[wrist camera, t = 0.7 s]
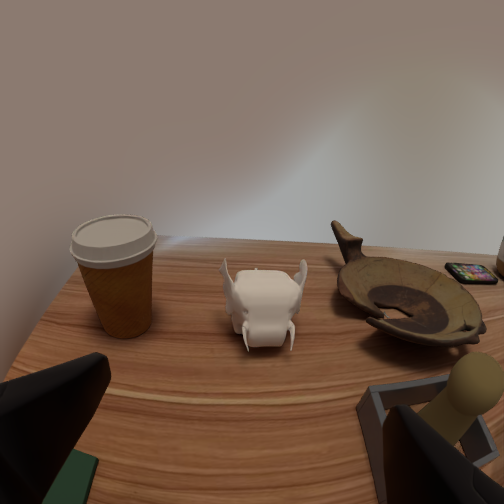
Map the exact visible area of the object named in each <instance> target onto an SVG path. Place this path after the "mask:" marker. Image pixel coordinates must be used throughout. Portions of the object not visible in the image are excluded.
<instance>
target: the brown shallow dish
mask: <svg viewBox="0 0 504 504" xmlns="http://www.w3.org/2000/svg"><path fill="white" fill-rule="evenodd" d="M331 227H332V230H333V232H334V235H335V237H336V239H337V242H338V244H339V247H340V250H341V252H342V255H343V258H344V261H345V263H346V265H344V266H343V267H342V268H341V269H340V271H339V274H338V278H337V285H338V289H339V291H340V293H341V295H342V296H343V297H345V298H346V299H347V300H348V301H350V302H351V303H353V304H354V305H356V306H357V307H359V308H360V309H362V310H364V312H367V313H370V314H371V315H373V316H376V317H378V318H383V320H377V319H375V318H372V317H368V318H367V319H366V322H367V323H368V324H370V325H371V326H373V327H375V328H377V329H379V330H381V331H383V332H385V333H387V334H390V335H392V336H395V337H397V338H400V339H403V340H406V341H409V342H413V343H417V344H422V345H429V346H440V347H453V346H459V345H462V344H478V343H479V342H480V340H479V336H478V335H479V334H484V333H485V332H486V326H485V324H484V322H483V321H482V313H481V310H480V308H479V305H478V304H477V302H476V300H475V299H474V298H473V297H472V295H471V294H470V293H469V292H468V291H467V290H466V289H464V288H463V286H462V285H461V284H459V283H458V282H457V281H455V280H454V279H451V278H448V277H447V276H446V275H444V274H442V273H441V272H438V271H436V270H433V269H431V268H428V267H426V266H423V265H420V264H416V263H412V262H408V261H403V260H398V259H393V258H386V257H366V256H365V255H363V253H362V252H361V245H362V241H363V239H362V238H359V237H355V236H353V235H351V234H349V233H348V232H347V231H346V230H345V229H344V227H342V226H341V224H340V223H339V222H337V221H332V222H331ZM377 306H378V307H389V308H390V307H393V308H397V309H400V310H401V311H403V312H405V313H407V314H408V315H411V316H412V317H410V318H402V319H384V314H385V311H384V314H383V312H382V311H380V309H379V308H378V307H377ZM385 315H386V314H385ZM386 316H387V315H386ZM387 317H388V316H387ZM389 318H390V317H389ZM464 330H466V331H469V332H461V331H464Z"/></svg>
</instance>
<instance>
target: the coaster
mask: <svg viewBox="0 0 504 504" xmlns="http://www.w3.org/2000/svg"><path fill="white" fill-rule="evenodd" d="M97 463H98V458H97V457H94V456H92V455H89V454H86V453H83V452H81V451H78V450H75V449H73V450H72V451H71V453H70V455H69V457H68V458H67V460H66V462H65V463H64V465H63V467H62V468H61V470H60V472H59V474H58V475H57V477H56V479H55V481H54V482H53V484H52V486H51V488H50V489H49V491H48V493H47V495H46V497H45V498H44V499H43V500H44V501H43V503H42V504H86V502H87V498H88V494H89V491H90V487H91V484H92V480H93V477H94V473H95V470H96V467H97Z"/></svg>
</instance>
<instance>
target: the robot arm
mask: <svg viewBox="0 0 504 504" xmlns="http://www.w3.org/2000/svg"><path fill="white" fill-rule="evenodd" d="M110 380H111V371H110V366H109V362H108V358H107V356H105V355H103V354H100V353H97V352H95V353H92V354H89V355H86V356H83V357H80V358H77V359H74V360H71V361H68V362H65V363H62V364H59V365H56V366H53V367H50V368H47V369H44V370H41V371H38V372H35V373H32V374H29V375H25V376H22V377H19V378H16V379H13V380H9V382H8V381H6V382H2V383H0V504H42V503H43V501H44V500H43V499H44V498H45V497H46V495H47V493H48V491H49V489H50V488H51V486H52V484H53V482H54V481H55V479H56V477H57V475H58V474H59V472H60V470H61V468H62V467H63V465H64V463H65V462H66V460H67V458H68V457H69V455H70V453H71V451H72V450H73V448H74V446H75V445H76V443H77V442H78V440H79V438H80V437H81V435H82V433H83V432H84V430H85V429H86V427H87V425H88V424H89V422H90V420H91V419H92V417H93V415H94V414H95V412H96V410H97V408H98V405H99V403H100V401H101V399H102V397H103V395H104V393H105V391H106V389H107V387H108V385H109V383H110ZM382 432H383V468H384V478H385V487H386V497H387V504H504V488H503V487H502V486H500V485H499V484H498V483H496V482H495V481H493V480H492V479H491V478H490V477H488V476H487V475H486V474H485V473H483V472H482V471H481V470H480V469H479V468H478V467H477V466H474V464H473V463H472V462H471V461H470V460H468V459H467V458H466V457H465V456H464V455H463V454H462V453H461V452H459V451H458V450H457V449H456V448H455V447H454V446H453V445H451V444H450V443H449V442H448V441H447V440H446V439H445V438H444V437H442V436H441V435H440V434H439V433H438V432H437V431H436V430H435V429H433V428H432V427H431V426H430V425H429V424H428V423H427V422H426V421H425V420H423V419H422V418H421V417H420V416H419V415H418V414H417V413H416V412H414V411H413V410H412V409H411V408H410V407H409V406H408V405H406V404H396V405H394V406H393V407H392V408H391V410H390V412H389V413H388V415H387V417H386V418H385V420H384V422H383V426H382Z"/></svg>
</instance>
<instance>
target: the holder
mask: <svg viewBox="0 0 504 504" xmlns="http://www.w3.org/2000/svg"><path fill="white" fill-rule="evenodd" d="M449 375H450V374H447V375H442V376H437V377H431V378H425V379H419V380H413V381H406V382H399V383H392V384H383V385H373V386H368V388H367V390H366V392H365V393H364V395H363V396H362V398H361V400H360V401H359V403H358V405H357V406H356V409H357V412H358V416H359V420H360V423H361V427H362V431H363V435H364V439H365V443H366V447H367V451H368V455H369V460H370V464H371V468H372V473H373V477H374V482H375V486H376V491H377V496H378V501H379V503H380V504H387V497H386V487H385V478H384V468H383V432H382V426H383V422H384V420H385V418H386V417H387V416H386V413H385V410H384V409H390V408H392V407H393V406H394V405H396V404H406V405H412V404H417V403H422V402H427V401H431V400H433V399H434V398H435V397H436V396H437V395H438V394H439V393H440V392H441V391H442V390H443V389H444V388H445V387H446V386H447V381H448V377H449ZM460 442H461V444H462V447H463V449H464V452H465V454H466V457H467V459H468V460H470V461H471V462H472V463H473V464H474V466H477V467H478V468H479V469H480V470H481V469H483V468H484V467H485V466H487V465H488V464H489V463H491V462H492V461H493V460H494V459H496V458H497V457H498V456H499V455H500V454H499V452H498V450H497V447H496V445H495V443H494V440H493V438H492V436H491V434H490V432H489V429H488V427H487V425H486V423H485V421H484V419H483V417H482V415H478V417H477V418H476V419H475V421H474V422H473V423H472V424H471V426H470V427H469V428H468V430H467V431H466V432H465V433H464V435H463V436H462V437H461V438H460Z"/></svg>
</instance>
